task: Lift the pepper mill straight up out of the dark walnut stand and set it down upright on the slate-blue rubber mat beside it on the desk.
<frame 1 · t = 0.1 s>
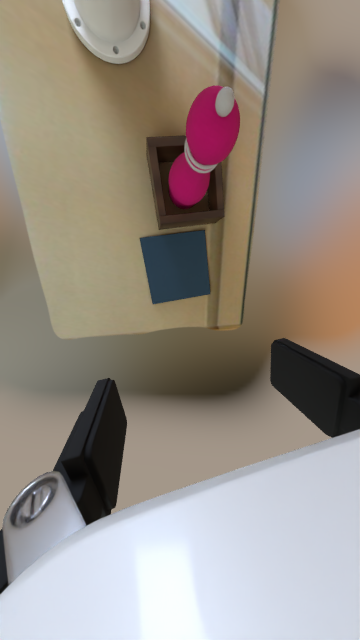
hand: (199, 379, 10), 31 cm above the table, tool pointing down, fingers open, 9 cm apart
pepper mill: (183, 192, 34), resting in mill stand
mat: (177, 268, 38), on the table
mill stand: (183, 191, 34), on the table
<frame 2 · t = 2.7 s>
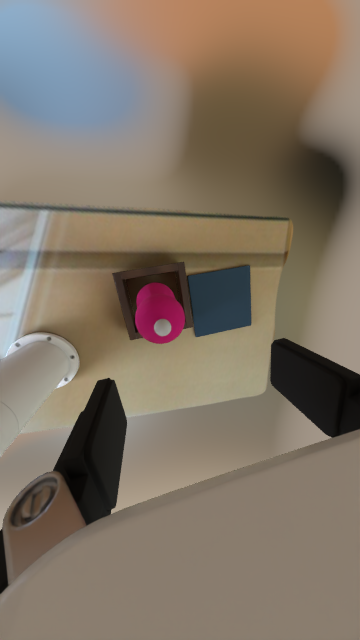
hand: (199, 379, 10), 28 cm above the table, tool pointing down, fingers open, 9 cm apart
pepper mill: (155, 298, 36), resting in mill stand
mat: (221, 302, 38), on the table
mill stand: (155, 298, 35), on the table
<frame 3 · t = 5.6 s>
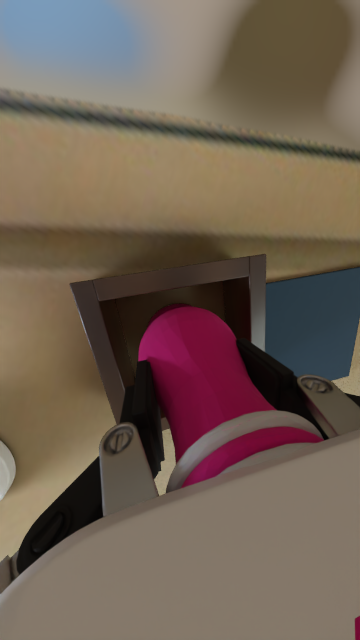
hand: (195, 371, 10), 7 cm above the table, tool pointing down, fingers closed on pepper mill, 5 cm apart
pepper mill: (177, 333, 17), resting in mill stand, touching gripper
mat: (303, 336, 20), on the table
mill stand: (178, 334, 17), on the table
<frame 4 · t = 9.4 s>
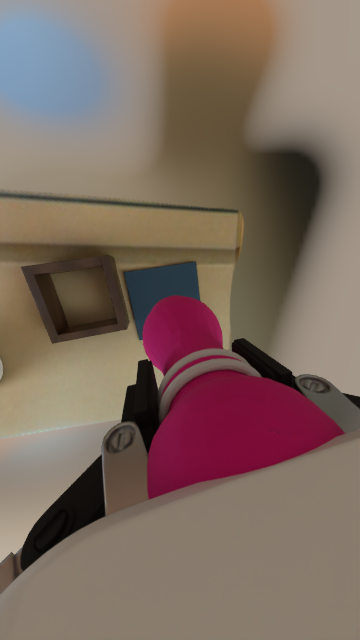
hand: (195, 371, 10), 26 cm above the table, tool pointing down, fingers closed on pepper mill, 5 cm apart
pepper mill: (175, 320, 20), point 15 cm above the table, touching gripper
mat: (166, 302, 35), on the table
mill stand: (88, 297, 32), on the table
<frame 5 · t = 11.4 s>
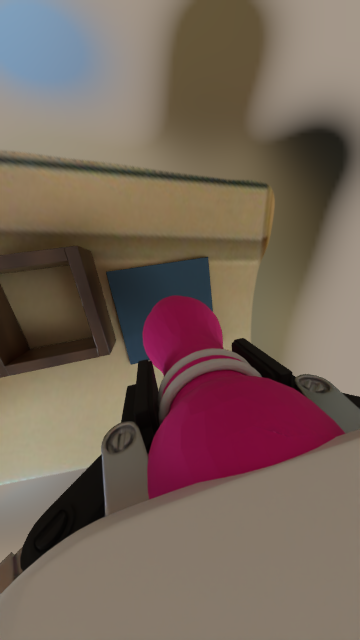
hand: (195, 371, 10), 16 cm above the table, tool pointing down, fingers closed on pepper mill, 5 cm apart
pepper mill: (175, 320, 20), point 5 cm above the table, touching gripper
mat: (167, 312, 25), on the table
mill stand: (55, 307, 22), on the table
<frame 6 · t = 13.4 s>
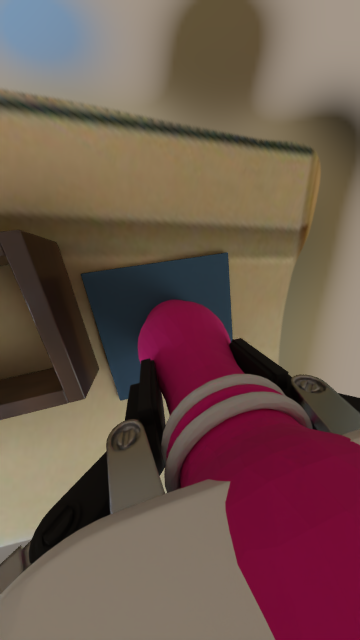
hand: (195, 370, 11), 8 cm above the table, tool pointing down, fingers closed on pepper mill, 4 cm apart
pepper mill: (173, 327, 18), resting on mat, touching gripper
mat: (170, 329, 18), on the table
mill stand: (7, 326, 15), on the table
when the fingers open (8 cm above the table, at t = 13.4 s): pepper mill stays where it is, resting on mat.
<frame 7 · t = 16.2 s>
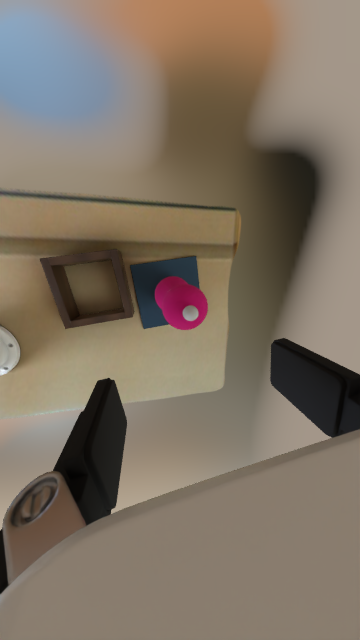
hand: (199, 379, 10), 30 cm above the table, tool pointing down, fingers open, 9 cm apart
pepper mill: (170, 292, 37), resting on mat
mat: (168, 293, 38), on the table
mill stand: (97, 288, 35), on the table
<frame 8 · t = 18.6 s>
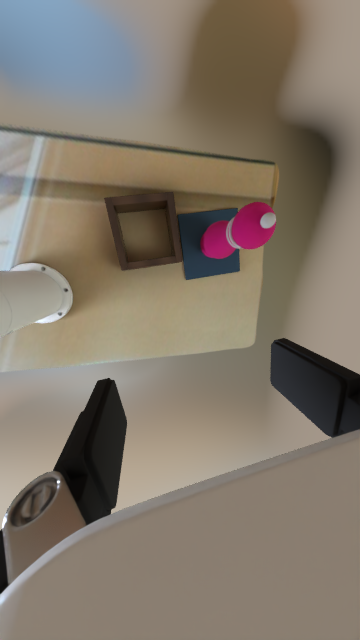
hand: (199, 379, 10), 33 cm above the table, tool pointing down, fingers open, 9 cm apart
pepper mill: (212, 243, 40), resting on mat
mat: (210, 245, 40), on the table
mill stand: (146, 236, 37), on the table
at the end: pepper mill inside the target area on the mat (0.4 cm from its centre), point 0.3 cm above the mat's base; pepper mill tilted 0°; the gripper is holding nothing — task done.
